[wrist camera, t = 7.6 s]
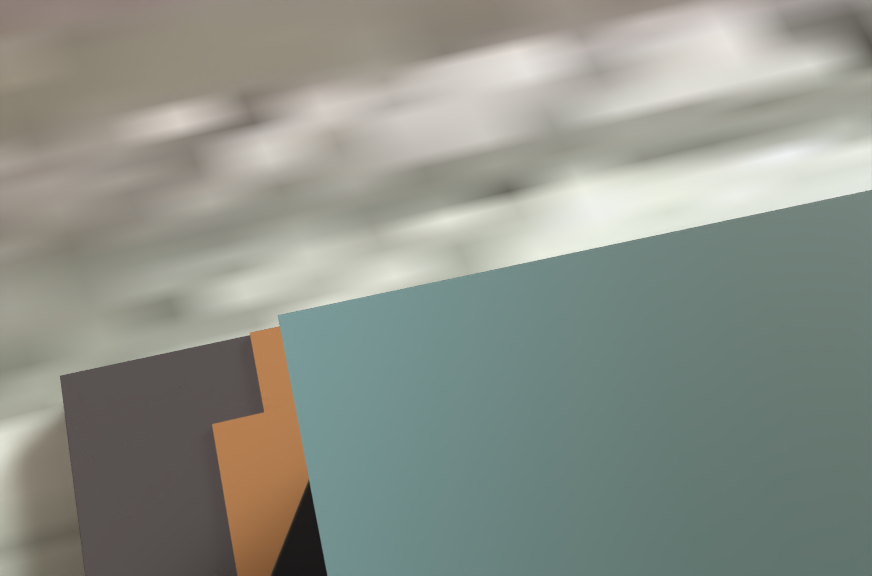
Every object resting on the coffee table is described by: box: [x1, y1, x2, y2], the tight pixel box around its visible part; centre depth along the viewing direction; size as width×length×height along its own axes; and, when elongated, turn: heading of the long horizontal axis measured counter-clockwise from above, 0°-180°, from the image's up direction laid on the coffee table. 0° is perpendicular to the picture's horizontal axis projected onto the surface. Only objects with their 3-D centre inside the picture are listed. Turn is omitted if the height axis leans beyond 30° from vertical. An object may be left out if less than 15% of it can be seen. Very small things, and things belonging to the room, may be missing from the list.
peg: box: [278, 190, 872, 576], centre depth 9 cm, size 4×4×13 cm
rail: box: [60, 326, 309, 576], centre depth 17 cm, size 26×9×2 cm, turn 104°
